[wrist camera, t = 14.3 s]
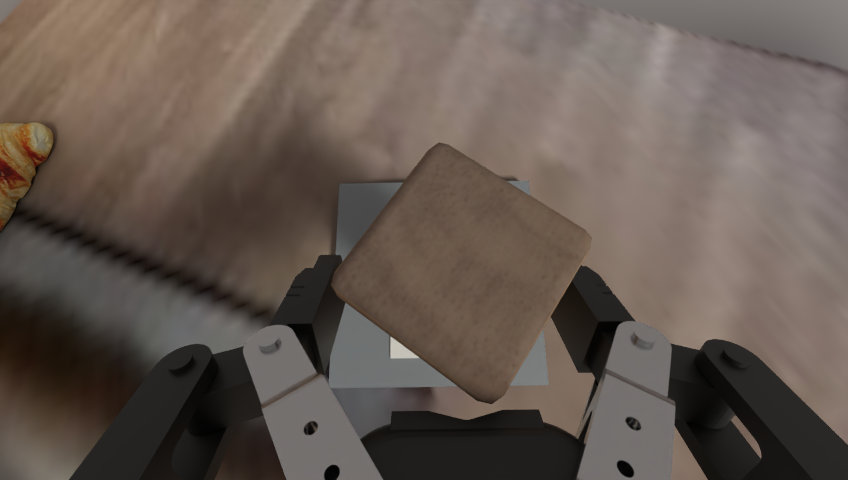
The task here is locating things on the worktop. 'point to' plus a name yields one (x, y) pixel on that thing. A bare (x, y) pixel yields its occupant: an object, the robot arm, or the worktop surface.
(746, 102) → the worktop surface
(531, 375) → the socket board
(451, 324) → the wooden block
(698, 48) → the worktop surface
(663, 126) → the worktop surface
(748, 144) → the worktop surface
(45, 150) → the croissant
